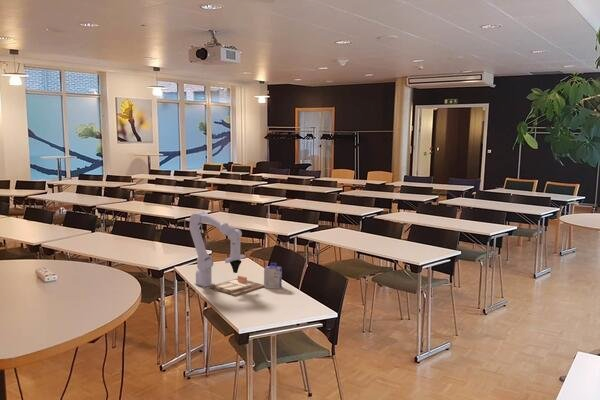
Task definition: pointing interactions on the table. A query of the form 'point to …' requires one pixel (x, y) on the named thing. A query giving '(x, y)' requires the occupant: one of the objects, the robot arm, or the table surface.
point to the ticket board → (235, 287)
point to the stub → (241, 281)
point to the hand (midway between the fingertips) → (235, 272)
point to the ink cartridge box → (273, 276)
